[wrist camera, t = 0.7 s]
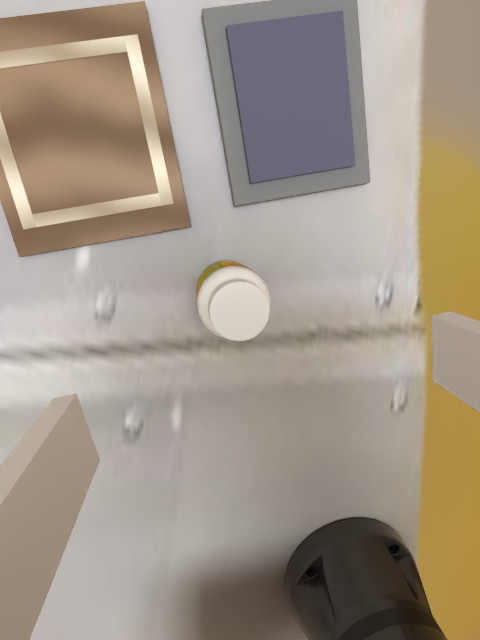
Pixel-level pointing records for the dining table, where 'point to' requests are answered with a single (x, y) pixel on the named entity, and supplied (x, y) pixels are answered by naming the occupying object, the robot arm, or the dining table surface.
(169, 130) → the marking board
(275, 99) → the ink pad
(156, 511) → the dining table surface
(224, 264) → the supplement bottle
